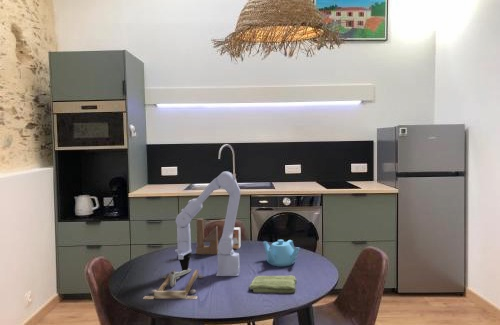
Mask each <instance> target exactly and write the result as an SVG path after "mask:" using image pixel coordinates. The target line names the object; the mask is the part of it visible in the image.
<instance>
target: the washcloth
mask: <svg viewBox="0 0 500 325" xmlns="http://www.w3.org/2000/svg"><path fill="white" fill-rule="evenodd" d="M296 283H297V278H296V277H295V275H291V274H290V275H259V276H255V277H254V278H253V280H252V281H251V284H249V289H250V290H253V293H269V294H270V293H271V294H273V293H276V294H277V293H278V294H281V293H282V294H283V293H284V294H286V293H287V294H288V293H289V294H292V293H296V289H297V288H296V285H297V284H296Z"/></svg>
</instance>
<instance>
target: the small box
mask: <svg viewBox="0 0 500 325" xmlns="http://www.w3.org/2000/svg"><path fill="white" fill-rule="evenodd" d="M241 235H242V234H241V226H240V227H239V226H238V227H235V226H234V231H233V242H234V243H233V247H232V249H233V250H234V249H235V250H239V249H240V248H241V245H242V244H241V242H242V240H241V238H242V236H241Z"/></svg>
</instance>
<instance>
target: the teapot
mask: <svg viewBox="0 0 500 325" xmlns="http://www.w3.org/2000/svg"><path fill="white" fill-rule="evenodd" d="M262 243H263V247H264V251H265V256H266V257H265V259H266V262H267V263H268V264H269V265H270V266H273V267H279V268H280V267H288V266H292V265H294V263H295V261H297V258H298V257H297V256H298V254H299V252H300V248H301V247H295V245H294V240H291V239H288V240H287V241H284V239H277V241H275V242H272V243H271V245H270V244H269V242H268V241H263V242H262Z"/></svg>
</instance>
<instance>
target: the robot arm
mask: <svg viewBox="0 0 500 325" xmlns="http://www.w3.org/2000/svg"><path fill="white" fill-rule="evenodd" d="M220 189H223V190H225V191H226V193H227V194H228V195H229V197H228V203H227V208H226V214H225V217H224V218H225V219H224V223H223V228H222V234H221V237H220V239H219V240H218V247H217V248H218V254H217V272H216V274H215V275H216V277H239V274H240V271H241V265H240V253H239V252H235V250H234V249H232V247H233V243H234V242H233V231H234V227H235V226H236V225H235V224H236V219H237V216H238V215H237V214H238V209H239V204H240V200H241V199H240V198H241V195H242V192H241V189H240V186H239V184H238V182H237V179H236V177H235V176H234V175H233V173H231V172H230V171H229V170H228V171H227V170H226V171H222V172H221V173H220V174H219V175H218V176H217V177H215V178H214V179H213V180H212V181H211V182H210V183H208V184H207V186H206V187H205V189H203V191H202V192H201V193H200V194H199V195H198V197H197V198H192V199H190V200H188V201H187V204H186V206H185V207H184V208H182V209H181V210H180V213H178V214H177V216H176V218H175V224H176V228H177V229H176V236H177V238H176V241H177V243H176V244H177V249H174V252H175V253H177V256H176V258H177V260H178V261H179V264H180V267H181V271H183V270H188V268H189V265H190V259H191V257H192V255H193V254H192V244H191V243H192V239H191V234H192V233H191V221H192V219H194V218H195V216H197V215H198V213H199V212H201V211H202V209H203V203H204V202H205V201H206V200H207V198H209V197H210V195H212V194H213V192H214V191H217V190H220Z"/></svg>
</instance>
